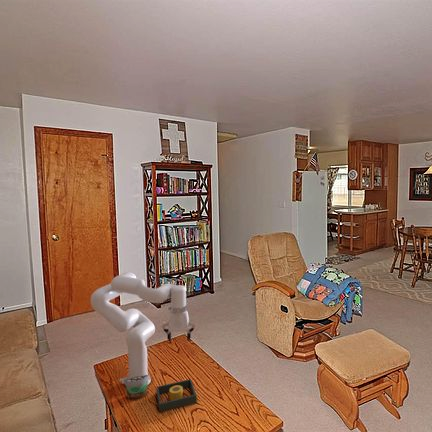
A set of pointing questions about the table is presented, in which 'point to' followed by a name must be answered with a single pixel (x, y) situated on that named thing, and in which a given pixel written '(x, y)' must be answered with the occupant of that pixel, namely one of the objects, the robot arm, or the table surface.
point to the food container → (136, 387)
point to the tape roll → (175, 392)
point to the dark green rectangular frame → (177, 402)
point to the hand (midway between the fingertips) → (179, 340)
